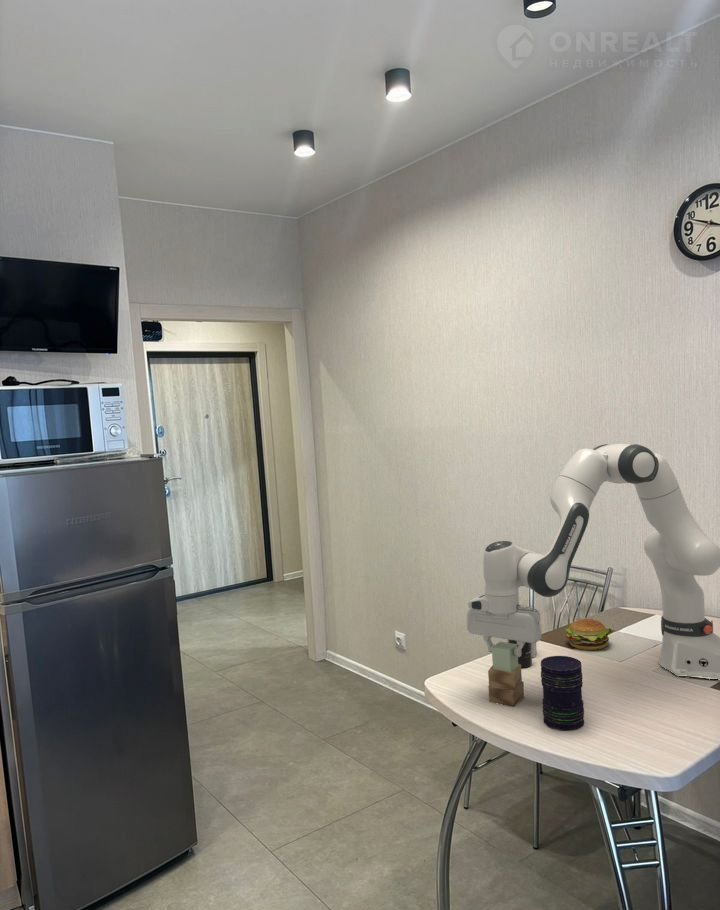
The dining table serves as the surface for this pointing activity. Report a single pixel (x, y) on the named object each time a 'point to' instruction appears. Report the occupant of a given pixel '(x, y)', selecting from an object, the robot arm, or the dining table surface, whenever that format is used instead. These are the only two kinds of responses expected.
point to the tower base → (507, 695)
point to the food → (587, 634)
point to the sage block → (504, 657)
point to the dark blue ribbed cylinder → (562, 693)
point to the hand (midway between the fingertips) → (504, 653)
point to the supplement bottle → (524, 654)
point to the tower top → (505, 678)
